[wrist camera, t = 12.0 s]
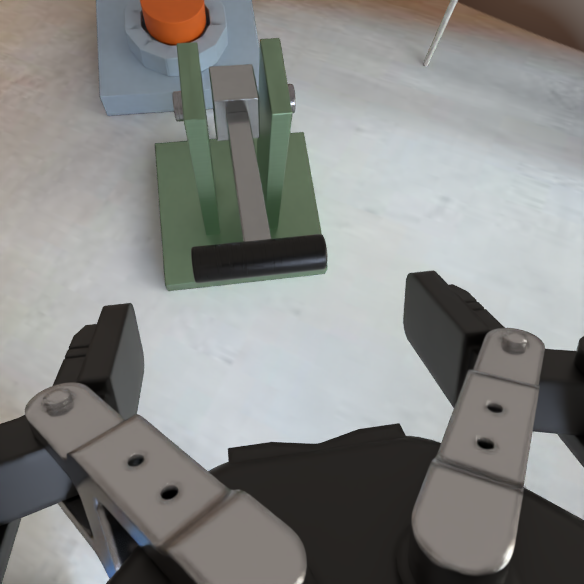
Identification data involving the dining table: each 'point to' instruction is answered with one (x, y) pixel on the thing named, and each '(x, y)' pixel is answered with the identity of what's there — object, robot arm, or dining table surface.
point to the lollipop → (440, 31)
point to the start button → (174, 20)
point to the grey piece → (165, 54)
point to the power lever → (249, 193)
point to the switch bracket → (230, 172)
